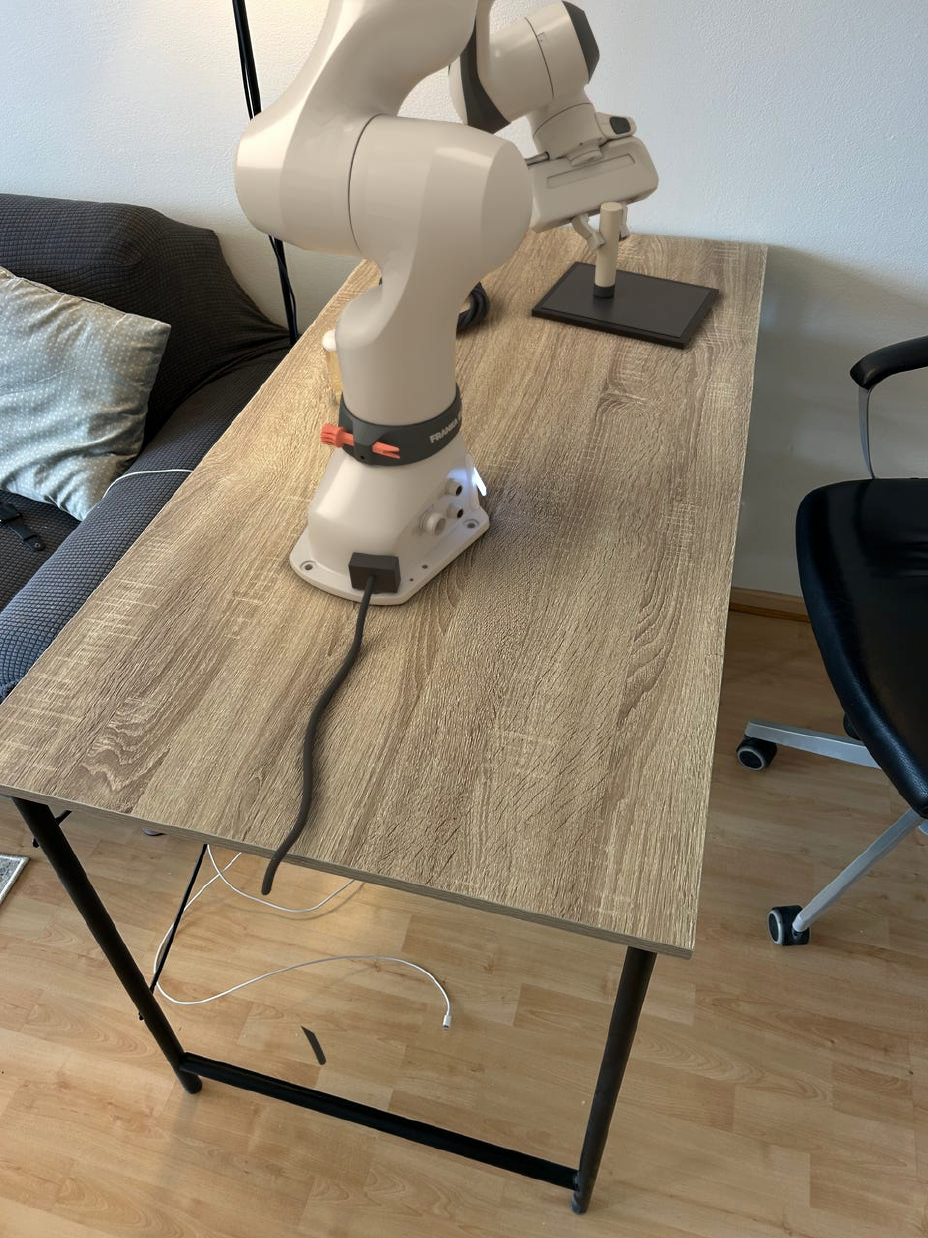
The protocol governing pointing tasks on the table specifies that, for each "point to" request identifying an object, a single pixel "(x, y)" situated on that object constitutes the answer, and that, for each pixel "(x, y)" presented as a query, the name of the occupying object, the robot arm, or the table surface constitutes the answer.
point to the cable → (473, 307)
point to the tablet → (629, 305)
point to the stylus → (608, 249)
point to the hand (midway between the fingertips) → (611, 243)
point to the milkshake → (332, 362)
